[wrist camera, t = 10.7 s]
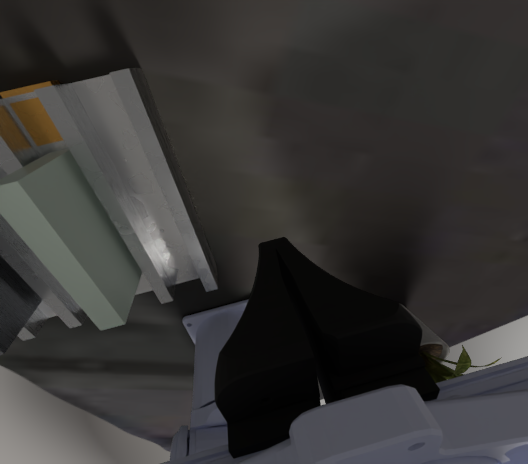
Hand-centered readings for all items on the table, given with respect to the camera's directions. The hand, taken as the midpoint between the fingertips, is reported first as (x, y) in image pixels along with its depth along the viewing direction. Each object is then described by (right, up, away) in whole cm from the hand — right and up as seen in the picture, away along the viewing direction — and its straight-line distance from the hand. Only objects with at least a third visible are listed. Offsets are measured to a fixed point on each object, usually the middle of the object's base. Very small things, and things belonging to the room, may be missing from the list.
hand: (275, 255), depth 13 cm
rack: (-14, +2, +7) cm, 16 cm away
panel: (-12, +2, +6) cm, 14 cm away
